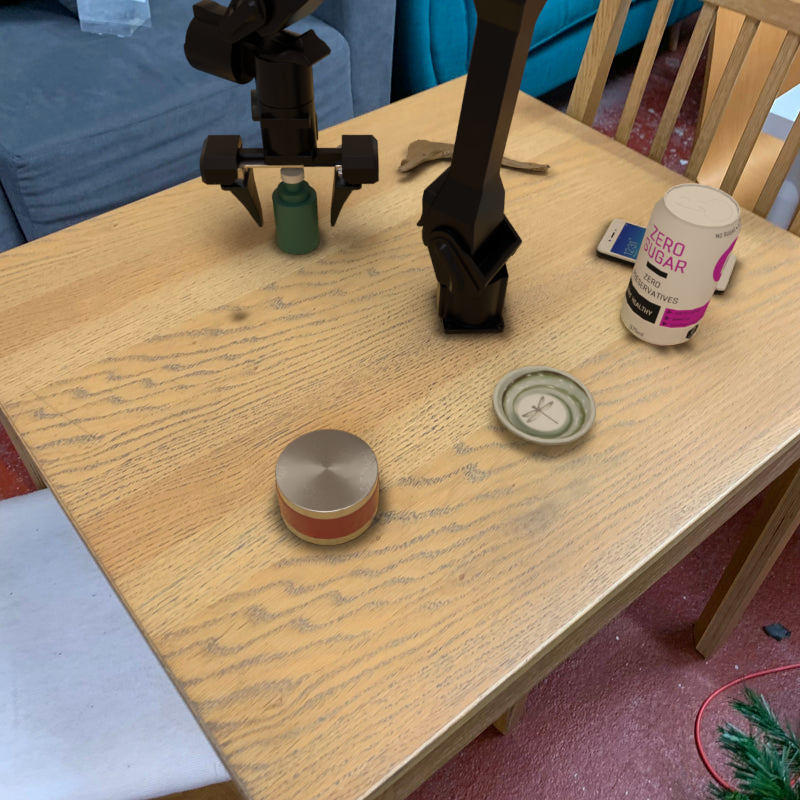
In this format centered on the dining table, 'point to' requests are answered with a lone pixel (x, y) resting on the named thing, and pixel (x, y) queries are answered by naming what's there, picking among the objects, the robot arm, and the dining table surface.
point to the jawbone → (450, 156)
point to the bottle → (295, 213)
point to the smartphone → (626, 244)
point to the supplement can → (680, 263)
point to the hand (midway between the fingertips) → (297, 224)
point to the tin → (327, 486)
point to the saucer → (544, 405)
